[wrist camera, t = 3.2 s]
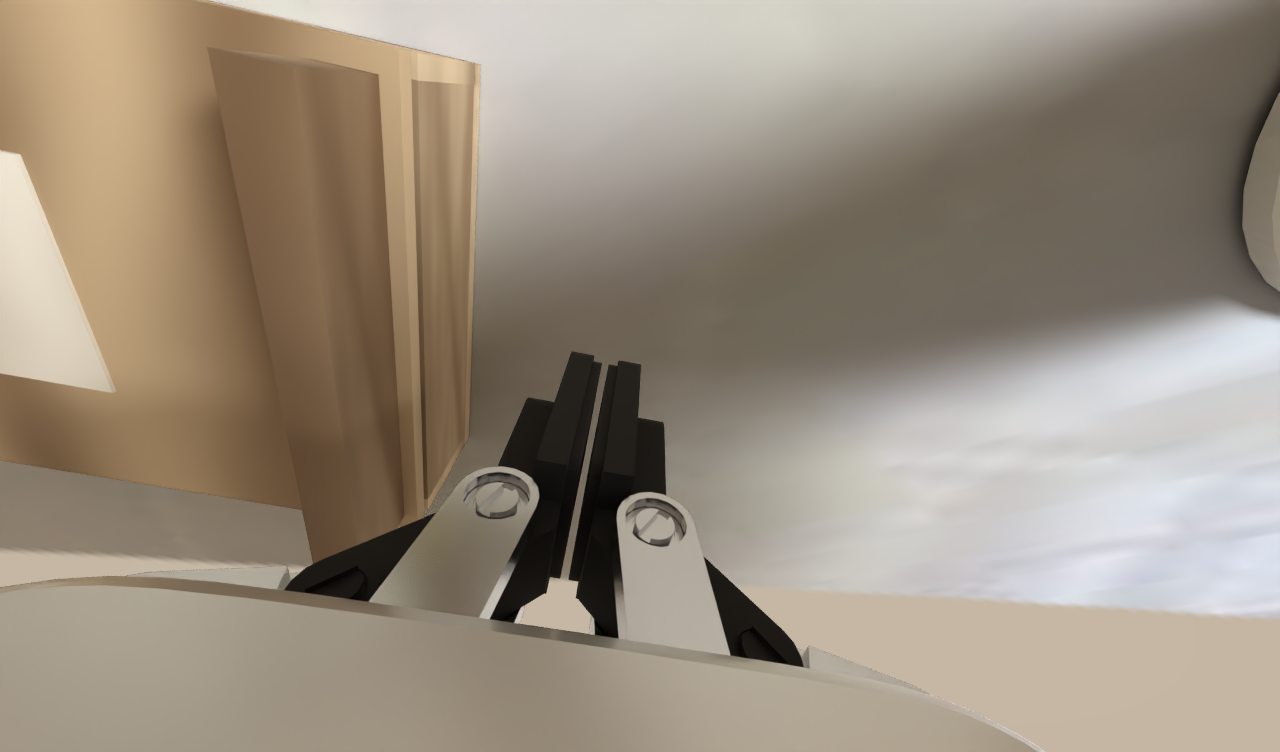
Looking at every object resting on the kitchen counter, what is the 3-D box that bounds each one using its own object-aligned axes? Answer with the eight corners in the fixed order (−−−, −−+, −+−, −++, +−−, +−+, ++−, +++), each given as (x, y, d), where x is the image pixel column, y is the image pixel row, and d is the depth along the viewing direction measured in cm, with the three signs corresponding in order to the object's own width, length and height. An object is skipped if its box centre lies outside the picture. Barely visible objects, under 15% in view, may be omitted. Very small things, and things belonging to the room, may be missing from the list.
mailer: (480, 64, 13) (417, 52, 10) (468, 437, 20) (428, 510, 16) (-347, -131, 12) (-768, -227, 8) (-66, 341, 18) (-238, 399, 15)
